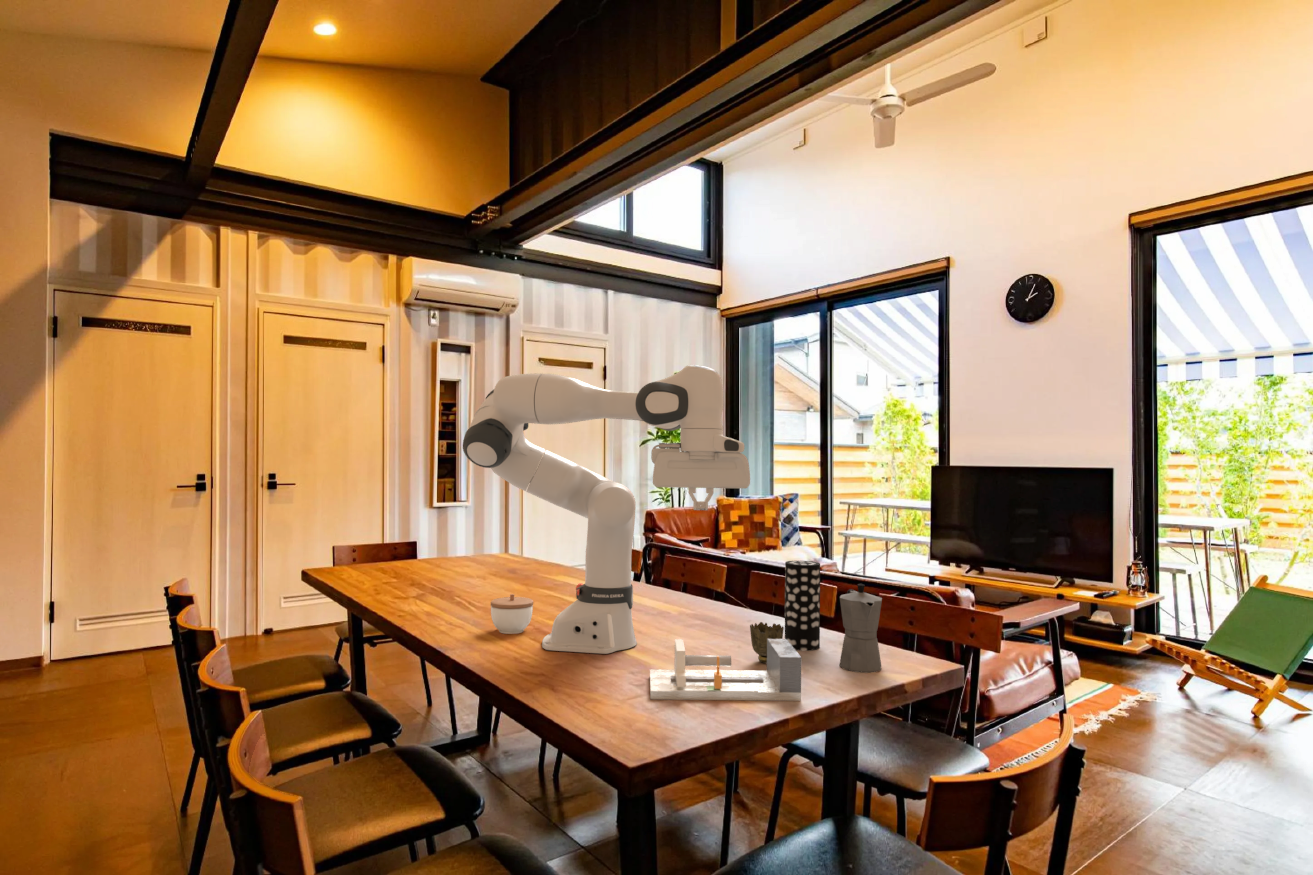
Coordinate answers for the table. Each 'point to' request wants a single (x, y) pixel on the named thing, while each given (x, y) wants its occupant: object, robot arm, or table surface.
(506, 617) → the lidded jar
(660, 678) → the gauge base
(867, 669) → the coffeepot
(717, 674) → the orange t-shaped block
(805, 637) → the spotted tube
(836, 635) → the table surface
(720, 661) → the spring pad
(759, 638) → the cup
